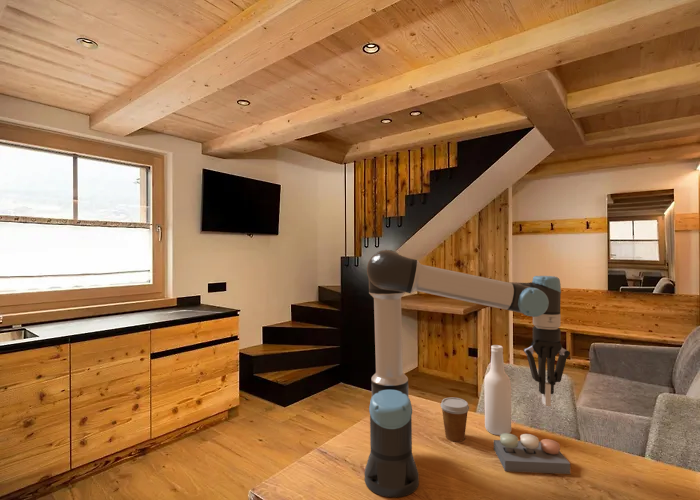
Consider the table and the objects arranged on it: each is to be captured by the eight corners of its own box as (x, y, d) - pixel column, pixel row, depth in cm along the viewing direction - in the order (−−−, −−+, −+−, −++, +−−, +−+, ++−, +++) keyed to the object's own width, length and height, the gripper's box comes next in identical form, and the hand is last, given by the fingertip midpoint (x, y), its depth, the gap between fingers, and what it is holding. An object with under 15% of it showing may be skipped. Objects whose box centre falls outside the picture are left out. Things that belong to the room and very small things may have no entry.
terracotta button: (545, 464, 112) (544, 447, 112) (538, 454, 117) (538, 438, 117) (562, 464, 111) (562, 447, 111) (555, 455, 116) (555, 439, 116)
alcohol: (514, 428, 135) (513, 345, 135) (508, 439, 128) (507, 350, 128) (488, 422, 140) (487, 341, 140) (481, 431, 133) (480, 347, 133)
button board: (505, 471, 109) (505, 460, 109) (493, 449, 121) (493, 439, 121) (570, 474, 108) (570, 463, 108) (552, 451, 120) (552, 442, 120)
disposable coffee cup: (471, 445, 124) (470, 409, 124) (441, 442, 126) (440, 407, 126) (467, 431, 133) (467, 397, 133) (440, 429, 135) (439, 396, 135)
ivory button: (524, 458, 112) (523, 441, 112) (518, 449, 117) (518, 433, 117) (541, 459, 112) (541, 442, 112) (535, 450, 117) (534, 434, 117)
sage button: (503, 457, 113) (503, 441, 113) (498, 448, 118) (498, 432, 118) (520, 458, 112) (520, 441, 112) (514, 449, 117) (514, 433, 117)
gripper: (528, 329, 111) (528, 408, 111) (575, 330, 110) (574, 410, 110) (519, 323, 119) (519, 398, 119) (563, 324, 117) (563, 400, 117)
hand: (546, 404), depth 114 cm, fingers closed
